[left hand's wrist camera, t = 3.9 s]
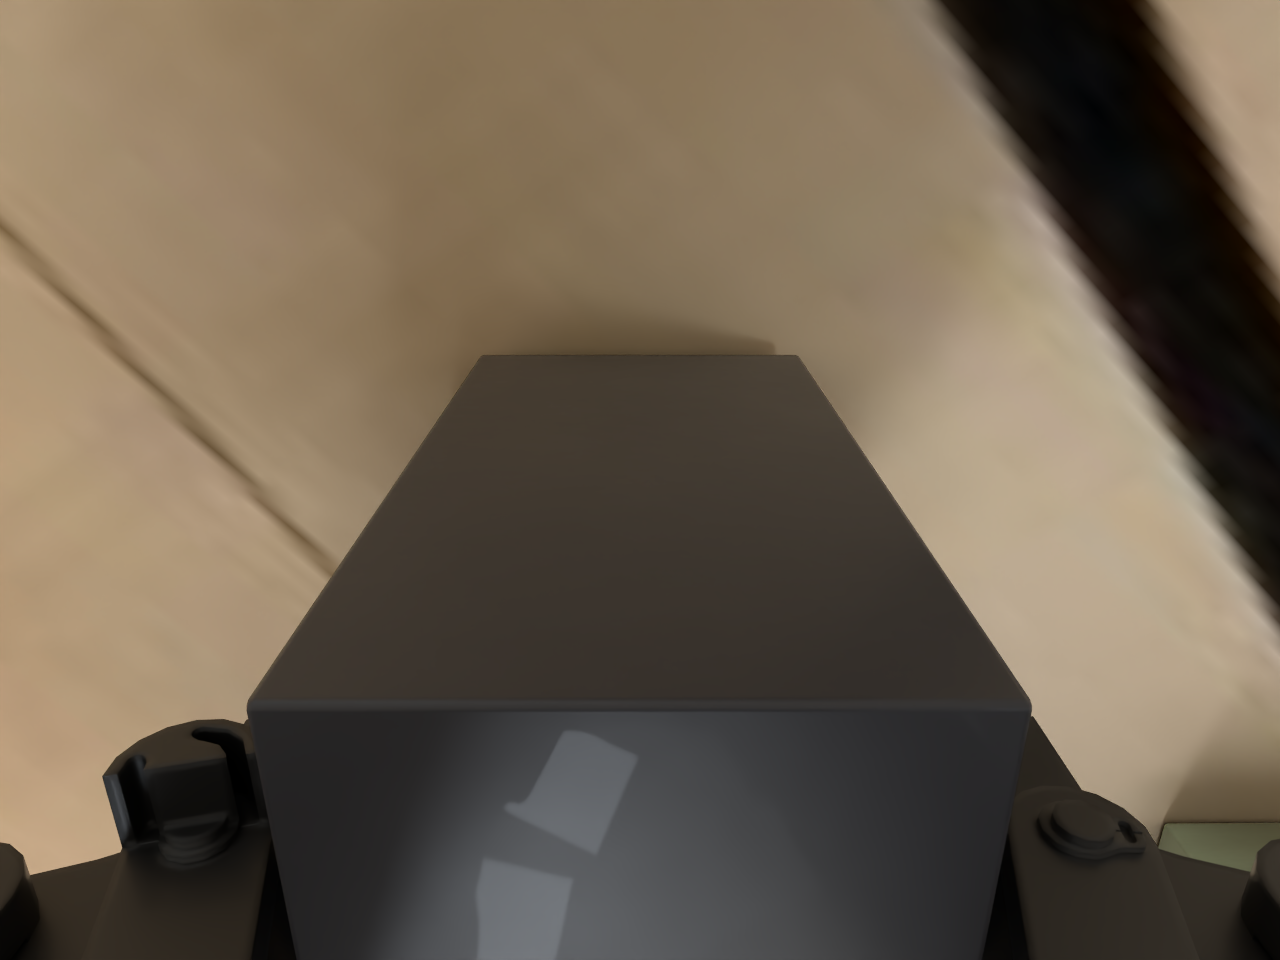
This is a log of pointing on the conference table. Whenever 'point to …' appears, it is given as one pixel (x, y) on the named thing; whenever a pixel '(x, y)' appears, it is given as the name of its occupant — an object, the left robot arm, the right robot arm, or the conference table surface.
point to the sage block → (1219, 841)
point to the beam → (639, 690)
